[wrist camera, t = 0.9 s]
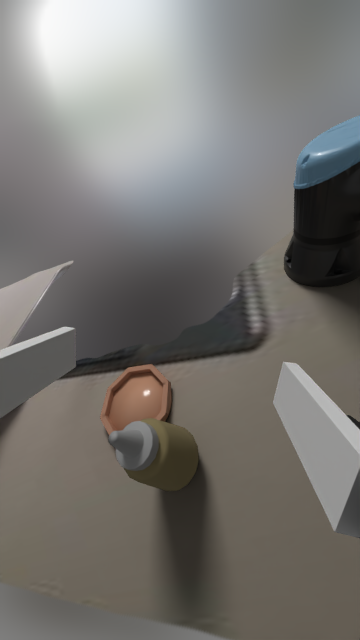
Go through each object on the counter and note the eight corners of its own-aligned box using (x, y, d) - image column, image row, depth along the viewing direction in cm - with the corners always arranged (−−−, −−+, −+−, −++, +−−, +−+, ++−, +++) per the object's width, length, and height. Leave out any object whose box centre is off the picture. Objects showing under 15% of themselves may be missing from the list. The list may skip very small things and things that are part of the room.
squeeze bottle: (175, 506, 30) (90, 518, 17) (149, 454, 35) (70, 432, 22) (216, 463, 31) (167, 443, 18) (185, 419, 36) (129, 379, 23)
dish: (146, 358, 48) (141, 353, 46) (186, 398, 38) (182, 395, 37) (99, 406, 45) (92, 403, 43) (130, 463, 35) (123, 461, 34)
